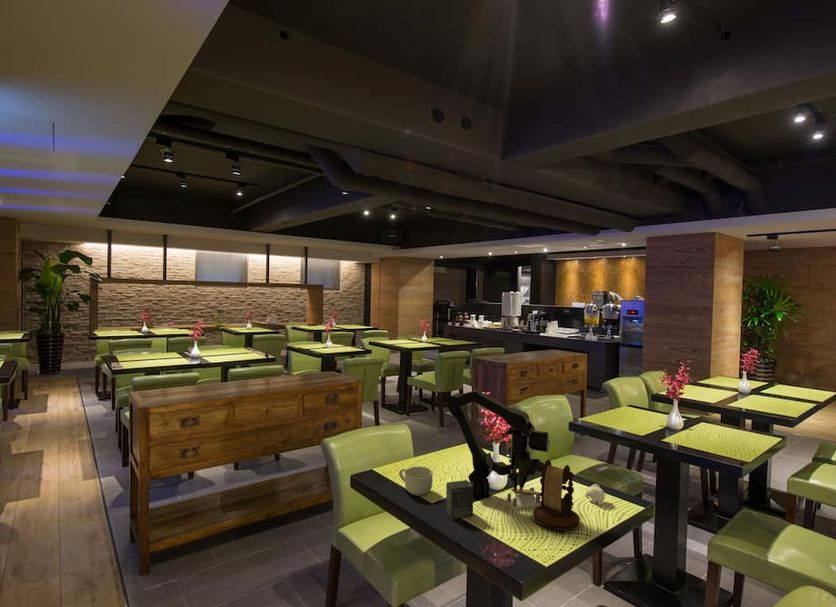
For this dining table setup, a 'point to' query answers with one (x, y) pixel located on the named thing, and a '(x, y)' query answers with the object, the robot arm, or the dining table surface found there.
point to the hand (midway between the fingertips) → (518, 490)
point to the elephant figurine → (595, 494)
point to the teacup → (417, 480)
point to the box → (459, 499)
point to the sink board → (523, 500)
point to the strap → (524, 491)
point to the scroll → (556, 499)
